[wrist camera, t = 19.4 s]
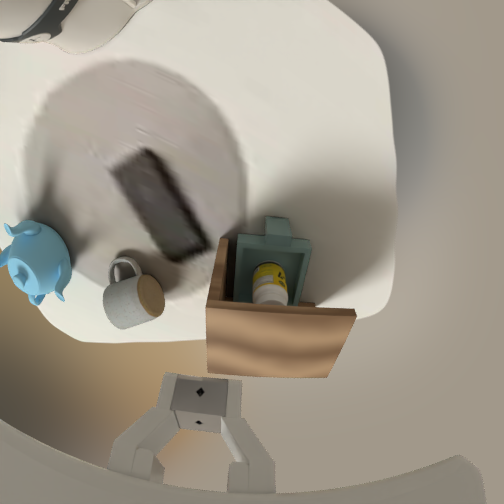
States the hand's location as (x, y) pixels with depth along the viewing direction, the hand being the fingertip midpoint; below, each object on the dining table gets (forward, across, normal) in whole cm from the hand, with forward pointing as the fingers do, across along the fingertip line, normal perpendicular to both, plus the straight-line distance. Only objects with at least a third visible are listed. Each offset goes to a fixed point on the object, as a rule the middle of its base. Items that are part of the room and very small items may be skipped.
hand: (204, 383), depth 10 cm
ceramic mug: (+29, +16, +20) cm, 39 cm away
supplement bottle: (+28, -5, +15) cm, 32 cm away
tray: (+29, -5, +13) cm, 32 cm away
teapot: (+29, +34, +14) cm, 47 cm away
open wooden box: (+29, -6, +16) cm, 34 cm away
